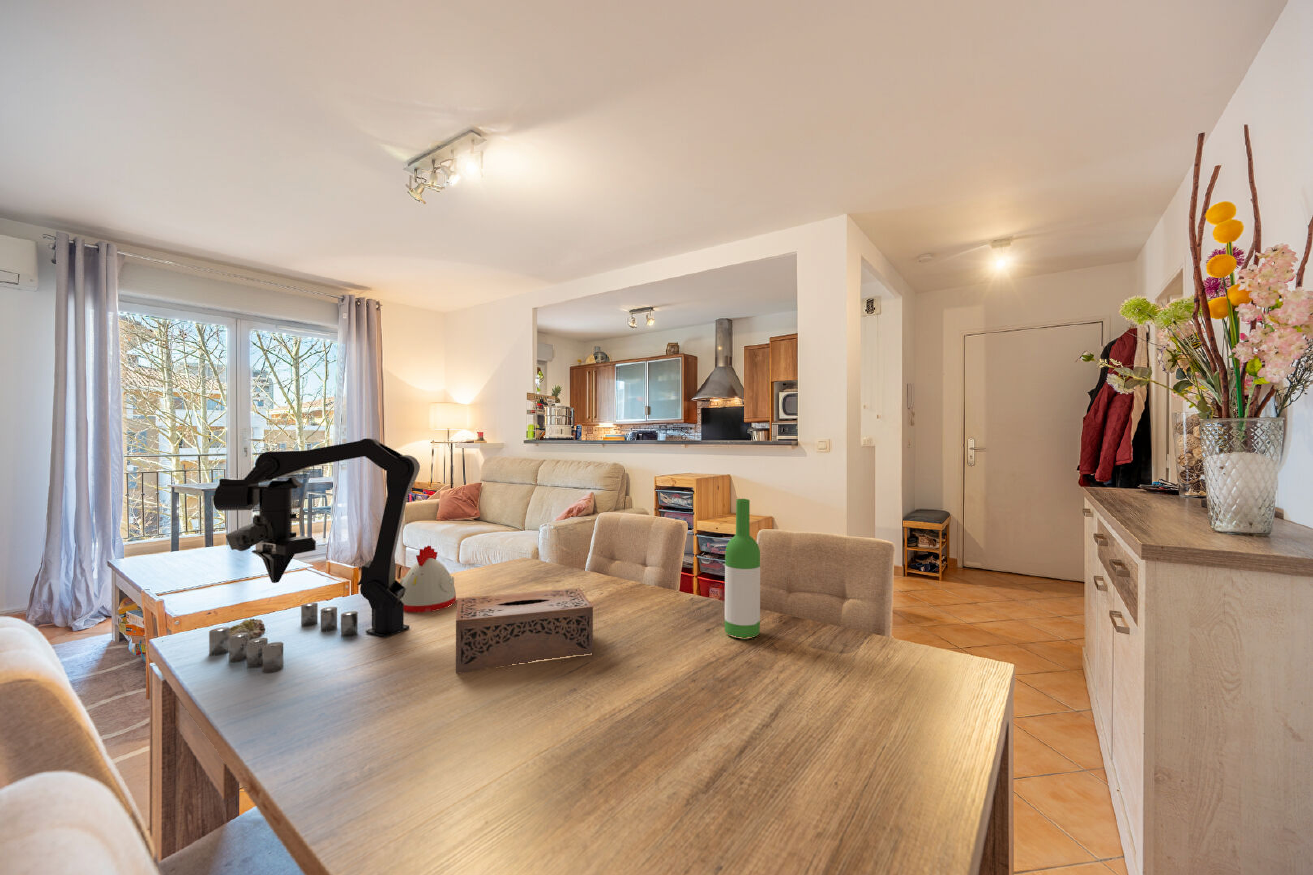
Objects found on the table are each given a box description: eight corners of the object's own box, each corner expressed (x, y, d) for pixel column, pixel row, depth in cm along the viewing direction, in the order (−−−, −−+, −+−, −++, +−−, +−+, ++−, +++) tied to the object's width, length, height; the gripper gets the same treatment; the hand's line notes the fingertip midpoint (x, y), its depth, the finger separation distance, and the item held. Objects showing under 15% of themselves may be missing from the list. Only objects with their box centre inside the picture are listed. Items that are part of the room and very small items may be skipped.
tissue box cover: (455, 674, 100) (455, 620, 100) (457, 645, 114) (457, 598, 114) (592, 656, 109) (592, 606, 109) (579, 631, 122) (579, 587, 122)
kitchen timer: (385, 610, 135) (385, 550, 135) (418, 594, 149) (418, 540, 149) (437, 614, 133) (437, 553, 133) (465, 597, 147) (465, 542, 147)
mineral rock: (234, 619, 122) (270, 609, 123) (240, 638, 122) (276, 627, 123) (198, 639, 111) (237, 628, 112) (205, 659, 112) (244, 647, 112)
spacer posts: (373, 635, 119) (373, 615, 118) (268, 674, 99) (268, 649, 99) (312, 620, 128) (312, 601, 128) (205, 653, 108) (205, 631, 108)
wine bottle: (765, 632, 122) (766, 498, 121) (751, 643, 115) (752, 502, 115) (733, 625, 126) (734, 496, 126) (718, 636, 119) (719, 500, 119)
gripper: (207, 511, 113) (207, 586, 113) (260, 517, 105) (260, 598, 105) (265, 505, 123) (265, 574, 123) (317, 510, 115) (317, 584, 115)
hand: (275, 582), depth 116 cm, fingers closed
